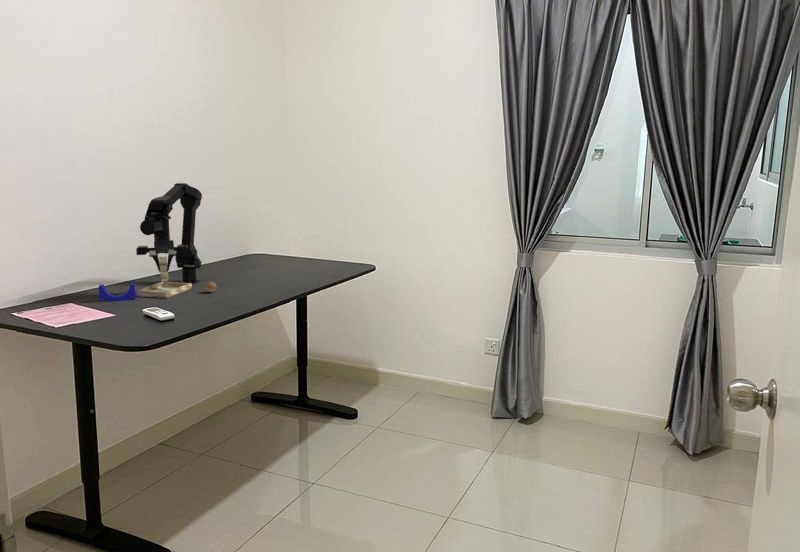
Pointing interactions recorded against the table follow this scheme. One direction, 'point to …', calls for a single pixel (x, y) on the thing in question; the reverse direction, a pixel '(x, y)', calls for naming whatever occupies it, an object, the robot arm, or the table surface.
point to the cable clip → (122, 297)
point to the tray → (164, 289)
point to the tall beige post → (163, 268)
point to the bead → (210, 286)
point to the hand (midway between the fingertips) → (163, 271)
